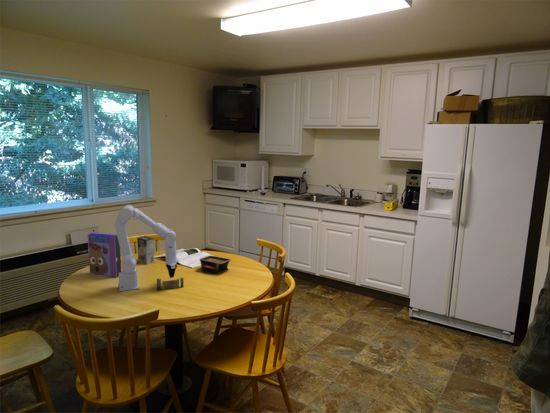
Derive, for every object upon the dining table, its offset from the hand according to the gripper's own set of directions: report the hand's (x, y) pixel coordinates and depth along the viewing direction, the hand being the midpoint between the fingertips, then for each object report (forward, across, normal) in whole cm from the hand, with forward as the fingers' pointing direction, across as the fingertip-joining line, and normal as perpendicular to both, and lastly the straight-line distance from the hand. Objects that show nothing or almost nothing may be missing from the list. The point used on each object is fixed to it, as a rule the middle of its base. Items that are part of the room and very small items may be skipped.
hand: (171, 277), depth 205 cm
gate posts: (+4, -5, +2) cm, 7 cm away
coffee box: (+4, +44, +9) cm, 46 cm away
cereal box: (+4, +28, +33) cm, 44 cm away
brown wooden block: (+4, -5, +1) cm, 7 cm away
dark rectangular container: (+5, +14, -28) cm, 32 cm away
